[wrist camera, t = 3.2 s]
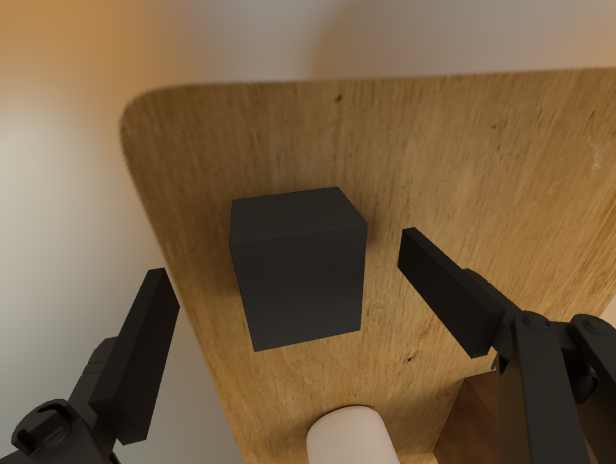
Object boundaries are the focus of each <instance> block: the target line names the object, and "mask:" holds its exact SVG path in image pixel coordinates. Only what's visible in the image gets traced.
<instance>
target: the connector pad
mask: <svg viewBox="0 0 616 464" xmlns="http://www.w3.org/2000/svg"><path fill="white" fill-rule="evenodd" d="M366 237H367V222H366V221H365V220H364V218H363V217H362V216H361V215H360V213H359V212H358V211H357V210H356V208H355V207H354V206H353V205H352V204H351V202H350V201H349V200H348V199H347V197H346V196H345V195H344V194H343V192H342V191H341V190H340V189H339V187H333V188H325V189H317V190H309V191H302V192H294V193H286V194H278V195H270V196H262V197H255V198H247V199H239V200H233V201H232V211H231V223H230V235H229V247H230V252H231V256H232V260H233V264H234V268H235V273H236V277H237V281H238V285H239V289H240V294H241V298H242V302H243V306H244V310H245V314H246V319H247V323H248V327H249V331H250V335H251V340H252V344H253V348H254V351H255V352H257V351H262V350H267V349H272V348H277V347H282V346H286V345H291V344H296V343H301V342H306V341H311V340H315V339H320V338H325V337H330V336H335V335H340V334H344V333H349V332H354V331H359V330H360V328H361V313H362V298H363V283H364V268H365V252H366Z"/></svg>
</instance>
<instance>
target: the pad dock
mask: <svg viewBox="0 0 616 464" xmlns="http://www.w3.org/2000/svg"><path fill="white" fill-rule="evenodd" d="M583 436H584V434H583ZM584 440H585V444H586V447H587V451H588V455H589V459H590V463H591V464H599V463H598V461H597V459H596V457H595V456H594V454H593V452H592V450H591V448H590V446H589V444H588V442H587V440H586V438H585V436H584ZM433 453H434V455H435V457H436V459H437V461H438V463H439V464H499V437H498V410H497V384H496V371H494V372H490V373H486V374H482V375H477V376H473V377H469V378H466V379H465V381H464V383H463V386H462V388H461V390H460V392H459V395H458V397H457V399H456V402H455V404H454V406H453V408H452V411H451V413H450V415H449V417H448V420H447V422H446V424H445V427H444V429H443V431H442V433H441V436H440V438H439V440H438V443H437V445H436V447H435V449H434V452H433Z"/></svg>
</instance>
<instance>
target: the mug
mask: <svg viewBox="0 0 616 464" xmlns="http://www.w3.org/2000/svg"><path fill="white" fill-rule="evenodd" d="M306 445H307V453H308V460H309V464H400V462H399V459H398V457H397V454H396V452H395V449H394V447H393V444H392V442H391V439H390V437H389V434H388V432H387V429H386V427H385V424H384V422H383V420H382V418H381V417H380V415H379V414H378V413H377V412H376V411H375V410H373V409H371V408H369V407H365V406H351V407H345V408H341V409H338V410H335V411H333V412H331V413H328V414H327V415H325V416H323V417H322V418H320V419H319V420H317V421H316V422H315V423H314V424H313V425H312V427H311V428H310V430H309V432H308V434H307V439H306Z"/></svg>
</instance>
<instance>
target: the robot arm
mask: <svg viewBox="0 0 616 464" xmlns="http://www.w3.org/2000/svg"><path fill="white" fill-rule="evenodd" d="M397 267H398V268H399V269H400V271H401V272H402V273H403V274H404V276H405V277H406V278H407V279H408V281H409V282H410V283H411V284H412V285H413V287H414V288H415V289H416V290H417V292H418V293H419V294H420V295H421V297H422V298H423V299H424V300H425V302H426V303H427V304H428V305H429V307H430V308H431V309H432V310H433V312H434V313H435V314H436V315H437V317H438V318H439V319H440V320H441V321H442V323H443V324H444V325H445V326H446V328H447V329H448V330H449V331H450V333H451V334H452V335H453V336H454V338H455V339H456V340H457V341H458V343H459V344H460V345H461V346H462V348H463V349H464V350H465V351H466V353H467V354H468V355H469V356H470V358H471V359H473V358H477V357H481V356H485V355H487V354H488V352H489V350H490V347H491V346H492V347H493V348H494V349H495V350H496V351H497V354H496V357H495V359H494V361H493V363H492V365H491V369H492V370H494V368H495V366H496V384H497V410H498V437H499V464H591V463H590V459H589V455H588V451H587V447H586V444H585V440H584V436H585V438H586V440H587V442H588V444H589V446H590V448H591V450H592V452H593V454H594V456H595V457H596V459H597V461H598V463H599V464H616V329H615V328H614V327H613V326H612V325H610V324H609V323H607V322H606V321H604V320H602V319H600V318H598V317H595V316H592V315H588V314H577V315H574V316H573V318H572V319H571V321H570V323H569V322H554V321H549V320H548V319H547V318H545V317H544V316H542V315H540V314H538V313H535V312H532V311H526V310H524V311H522V310H521V309H520V308H518V307H517V306H516V305H515V304H514V303H513V302H511V301H510V300H509V299H508V298H507V297H506V296H504V295H503V294H502V293H501V292H500V291H498V290H497V289H495V288H494V286H493V285H491V284H490V283H488V282H487V280H485V279H484V278H483V277H482V276H481V275H480V274H478V273H476V272H474V271H472V270H470V269H468V268H467V269H461V268H460V267H459V266H458V265H457V264H456V263H454V262H453V261H452V260H451V259H450V258H449V257H448V256H447V255H445V254H444V253H443V252H442V251H441V250H440V249H439V248H438V247H437V246H435V245H434V244H433V243H432V242H431V241H430V240H429V239H428V238H426V237H425V236H424V235H423V234H422V233H421V232H420V231H419V230H417V229H416V228H415V227H412V228H406V229H403V230H402V237H401V244H400V251H399V259H398V266H397ZM179 309H180V305H179V303H178V300H177V298H176V295H175V293H174V290H173V288H172V285H171V283H170V280H169V278H168V275H167V273H166V270H165V268H158V269H152V270H148V272H147V274H146V277H145V279H144V281H143V283H142V285H141V287H140V290H139V292H138V294H137V296H136V298H135V300H134V303H133V305H132V307H131V309H130V311H129V314H128V316H127V318H126V320H125V322H124V324H123V327H122V329H121V331H120V333H119V335H118V336H117V337H112V338H107V339H104V341H103V342H102V343H101V344H100V345H99V346H98V347H97V348H96V349H95V350H94V352H93V354H92V356H91V357H90V359H89V361H88V365H86V367H85V369H84V371H83V373H82V376H81V377H80V378H79V380H78V382H77V384H76V386H75V388H74V390H73V392H72V394H71V396H70V398H69V400H68V401H66V400H64V399H54V400H51V401H48V402H45V403H43V404H42V405H40V406H38V407H36V408H35V409H34V410H33V411H31V412H30V413H29V414H27V415H26V416H25V417H24V418H23V419H22V421H21V422H20V423H19V424H18V425H17V427H16V428H15V431H14V432H13V435H12V440H11V444H12V445H14V446H15V447H16V448H18V449H19V450H17V451H16V452H13V453H11V454H9V455H7V456H5V457H3V458H1V459H0V464H121V463H120V462H119V460H118V458H117V457H116V455H115V453H114V452H113V451H112V450H113V447H114V444H115V441H116V438H117V439H118V440H119V441H120V442H121V444H122V445H127V444H131V443H135V442H139V441H143V440H146V438H147V434H148V430H149V426H150V423H151V419H152V415H153V411H154V407H155V402H156V399H157V395H158V391H159V387H160V383H161V379H162V375H163V371H164V368H165V364H166V360H167V356H168V352H169V348H170V344H171V340H172V336H173V332H174V328H175V324H176V320H177V316H178V312H179ZM594 371H595V372H594ZM583 434H584V436H583Z"/></svg>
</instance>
